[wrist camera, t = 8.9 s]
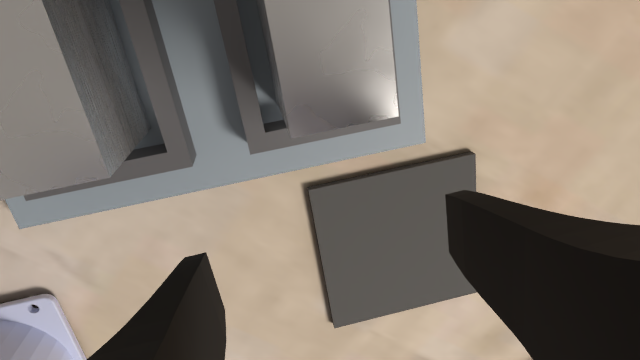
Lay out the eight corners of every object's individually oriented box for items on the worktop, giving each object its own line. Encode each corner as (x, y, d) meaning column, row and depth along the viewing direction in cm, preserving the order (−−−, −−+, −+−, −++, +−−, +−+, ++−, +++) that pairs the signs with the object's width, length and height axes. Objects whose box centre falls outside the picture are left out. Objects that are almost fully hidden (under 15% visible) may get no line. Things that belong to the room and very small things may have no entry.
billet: (66, 145, 18) (-14, 203, 12) (8, 5, 16) (-120, -2, 10) (150, 128, 18) (109, 177, 12) (105, -11, 16) (32, -26, 10)
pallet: (32, 217, 20) (0, 247, 17) (-109, -75, 15) (-181, -94, 12) (416, 136, 22) (439, 152, 19) (395, -146, 17) (422, -175, 14)
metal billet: (276, 102, 18) (290, 138, 13) (248, -36, 16) (252, -63, 11) (353, 87, 19) (398, 116, 13) (335, -50, 17) (380, -83, 11)
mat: (333, 323, 25) (334, 328, 25) (307, 187, 22) (308, 190, 21) (474, 288, 26) (477, 292, 25) (471, 151, 22) (475, 153, 22)
